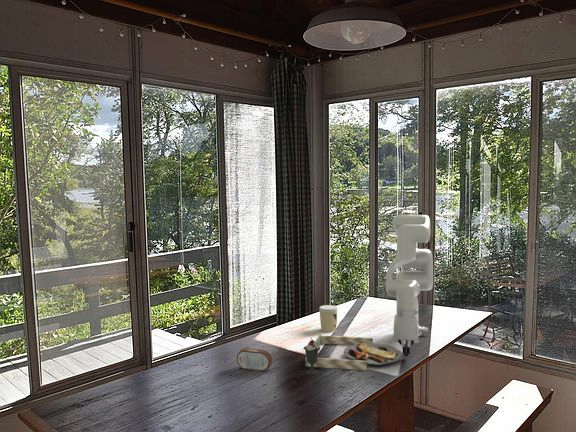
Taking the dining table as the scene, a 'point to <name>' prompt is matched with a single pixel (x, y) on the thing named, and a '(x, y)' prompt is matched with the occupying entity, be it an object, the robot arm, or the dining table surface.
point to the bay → (340, 362)
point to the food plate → (373, 353)
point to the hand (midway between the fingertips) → (406, 355)
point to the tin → (254, 359)
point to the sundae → (312, 356)
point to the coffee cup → (328, 318)
